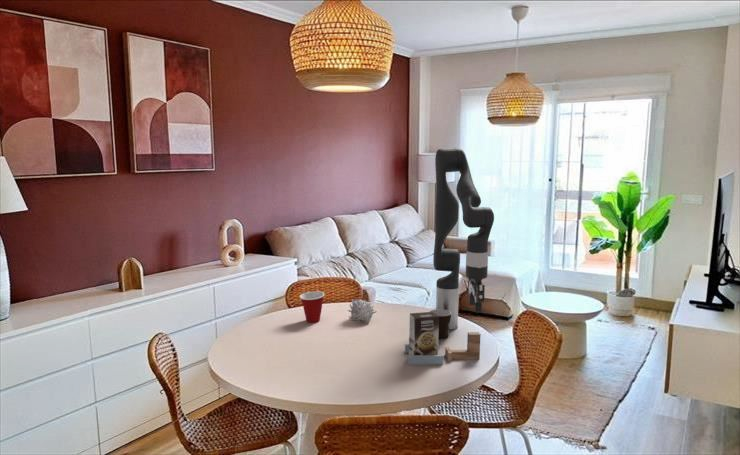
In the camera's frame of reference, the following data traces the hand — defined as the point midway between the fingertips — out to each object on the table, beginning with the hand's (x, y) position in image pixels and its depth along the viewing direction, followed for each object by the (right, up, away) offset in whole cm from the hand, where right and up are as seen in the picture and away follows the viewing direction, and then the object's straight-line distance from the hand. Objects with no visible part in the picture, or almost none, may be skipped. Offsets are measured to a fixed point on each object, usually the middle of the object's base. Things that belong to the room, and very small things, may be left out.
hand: (475, 308), depth 183 cm
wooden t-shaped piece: (-4, -18, +2) cm, 19 cm away
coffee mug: (-8, -15, +24) cm, 30 cm away
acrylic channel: (-18, -18, +2) cm, 26 cm away
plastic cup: (-62, -12, +42) cm, 76 cm away
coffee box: (-18, -18, +2) cm, 26 cm away
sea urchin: (-41, -12, +43) cm, 61 cm away
